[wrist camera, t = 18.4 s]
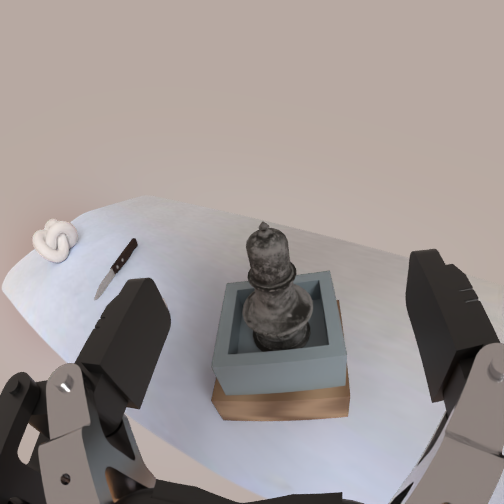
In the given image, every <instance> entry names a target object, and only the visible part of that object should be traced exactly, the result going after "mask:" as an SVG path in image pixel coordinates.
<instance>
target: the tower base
mask: <svg viewBox="0 0 504 504" xmlns="http://www.w3.org/2000/svg"><path fill="white" fill-rule="evenodd" d="M336 301H337V306H338V311H339V316H340V321H341V326H342V319H341V312H340V305H339V300H336ZM342 331H343V326H342ZM343 336H344V334H343ZM211 401H212V403H213V404H214V406H215V408H216V409H217V411H218V412H219V414H220V416H221V417H222V419H223V420H231V421H292V420H312V419H326V418H338V417H348V412H349V402H350V389H349V378H348V368H347V364H346V383H345V386H338V387H331V388H323V389H315V390H305V391H295V392H284V393H270V394H252V395H226V394H225V392H224V391H223V389H222V387H221V385H220V383H219V381H218V379H217V377H216V381H215V385H214V390H213V395H212V399H211Z"/></svg>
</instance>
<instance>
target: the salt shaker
mask: <svg viewBox="0 0 504 504" xmlns="http://www.w3.org/2000/svg"><path fill="white" fill-rule="evenodd" d="M259 229H260V230H258V231H256V232H254V233H253V234H252V235H250V237H249V238H248V240H247V244H246V249H247V253H248V258H249V262H250V267H251V269H250V270H249V272H248V281H249V283H250V284H251V286H252V287H254V289H255V291H253V292H252V293H251V294H250V295H249V296H248V298H247V299H246V301H245V303H244V305H243V311H242V313H243V318H244V321H245V322H246V324H247V325H248V327H249V328H251V329H252V330H253V339H254V343H255V344H256V346H257V347H258V348H259V349H260V350H261V351H262V352H269V351H279V350H289V349H299V348H303V347H304V346H305V345H306V343H307V342H308V340H309V337H310V334H311V331H310V325H309V322H308V320H309V319H310V317H311V315H312V312H313V301H312V299H311V296H310V295H309V293H308V292H307V291H306V290H305V289H303V288H302V287H300V286H299V285H296V284H293V281H294V280H295V277H296V268H295V266H294V265H293V264H292V263H291V262H290V257H289V249H288V241H287V239H286V236H285V235H284V234H283V233H282V232H281V231H279V230H277V229H273V228H269V225H267V224H266V223H264V222H262V223H261V224H260V226H259Z"/></svg>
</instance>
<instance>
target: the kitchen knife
mask: <svg viewBox="0 0 504 504" xmlns="http://www.w3.org/2000/svg"><path fill="white" fill-rule="evenodd" d="M137 246H138V244H137V241H136V239H135V238H133V239H132V240H131V241H130V242H129V244H128V245H127V247H126V248H125V249H124V251H123V252H122V253H121V255H120V256H119V257H118V259H117V260H116V261H115V263H114V264H113V265H112V267H111V268H110V269H111V270H110V271H109V273H108V274H107V275H106V277H105V278H104V280H103V281H102V282H101V284H100V286H99V288H98V291H97V293H96V296H95V299H94V300H96V299H98V298H99V297H100V296H101V295H102V294H103V292H104V291H105V289H106V288H107V286H108V285H109V283H110V282H111V281H112V279H113V278H114V276H115V275H116V273H117V272H118V271H119V270H120V269H121V268H122V266H123V265H124V264H125V263H126V261H127V260H128V258H129V257H130V255H131V253H132V251H133V250H134V249H135V248H136V247H137Z"/></svg>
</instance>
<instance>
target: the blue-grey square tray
mask: <svg viewBox="0 0 504 504" xmlns="http://www.w3.org/2000/svg"><path fill="white" fill-rule="evenodd" d="M293 284H296V285H299V286H300V287H302V288H303V289H305V290H306V291H307V292H308V293H309V295H310V296H311V299H312V301H313V312H312V315H311V317H310V319H309V320H308V322H309V325H310V331H311V334H310V337H309V340H308V342H307V343H306V345H305V346H304V347H303V348H299V349H289V350H279V351H269V352H262V351H261V350H260V349H259V348H258V347H257V346H256V344H255V343H254V339H253V330H252V329H251V328H249V327H248V325H247V324H246V322H245V321H244V318H243V313H242V311H243V305H244V303H245V301H246V299H247V298H248V296H249V295H250V294H251V293H252V292H253V291H255V289H254V287H252V286H251V284H250V283H249V281H245V282H236V283H228V284H227V285H226V290H225V296H224V301H223V306H222V311H221V317H220V322H219V327H218V333H217V338H216V344H215V349H214V355H213V360H212V366H211V367H212V369H213V371H214V373H215V375H216V377H217V379H218V381H219V383H220V385H221V387H222V389H223V391H224V392H225V394H226V395H252V394H270V393H284V392H295V391H305V390H315V389H323V388H331V387H338V386H345V383H346V364H347V353H346V347H345V342H344V336H343V331H342V326H341V321H340V316H339V311H338V306H337V301H336V297H335V292H334V287H333V283H332V278H331V274H330V271H324V272H316V273H309V274H301V275H296V277H295V280H294V281H293Z"/></svg>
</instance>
